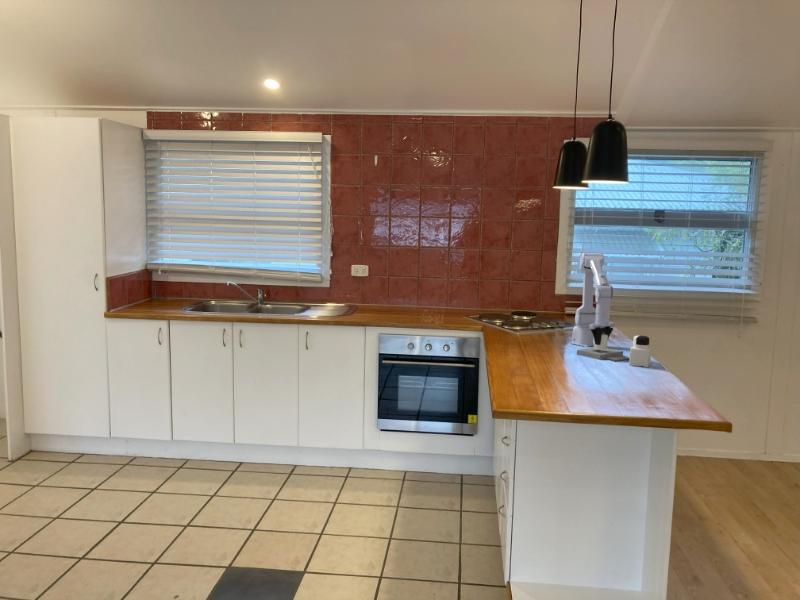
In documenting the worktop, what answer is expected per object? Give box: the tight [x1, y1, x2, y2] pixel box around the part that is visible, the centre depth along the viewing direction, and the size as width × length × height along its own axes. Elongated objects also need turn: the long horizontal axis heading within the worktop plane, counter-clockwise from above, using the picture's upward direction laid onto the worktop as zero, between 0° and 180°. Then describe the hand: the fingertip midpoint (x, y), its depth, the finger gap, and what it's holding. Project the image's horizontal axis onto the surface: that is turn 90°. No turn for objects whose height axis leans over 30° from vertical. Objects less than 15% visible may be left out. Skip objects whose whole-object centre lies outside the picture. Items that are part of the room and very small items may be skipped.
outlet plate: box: [576, 347, 624, 361], centre depth 264 cm, size 12×16×2 cm
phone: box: [605, 356, 630, 363], centre depth 256 cm, size 5×9×1 cm, turn 120°
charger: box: [593, 333, 609, 350], centre depth 263 cm, size 4×4×7 cm
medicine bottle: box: [628, 335, 652, 368], centre depth 246 cm, size 7×7×12 cm
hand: (600, 344), depth 263 cm, fingers closed on charger, 4 cm apart
